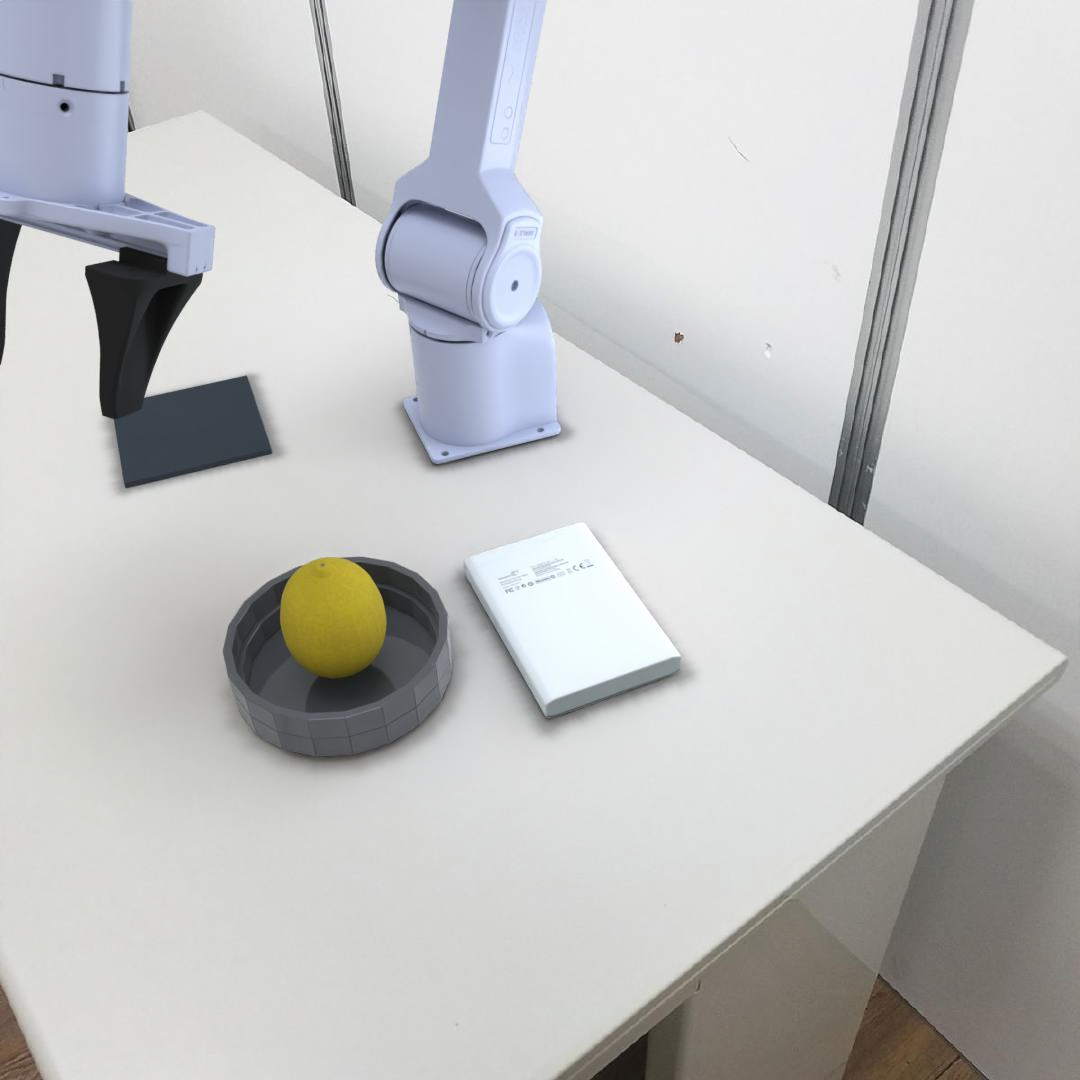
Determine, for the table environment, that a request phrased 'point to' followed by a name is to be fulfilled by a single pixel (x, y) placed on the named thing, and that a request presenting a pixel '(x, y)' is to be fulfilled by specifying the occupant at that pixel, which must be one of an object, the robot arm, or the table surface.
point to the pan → (351, 702)
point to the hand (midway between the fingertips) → (50, 389)
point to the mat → (190, 431)
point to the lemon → (332, 617)
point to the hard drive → (570, 619)
